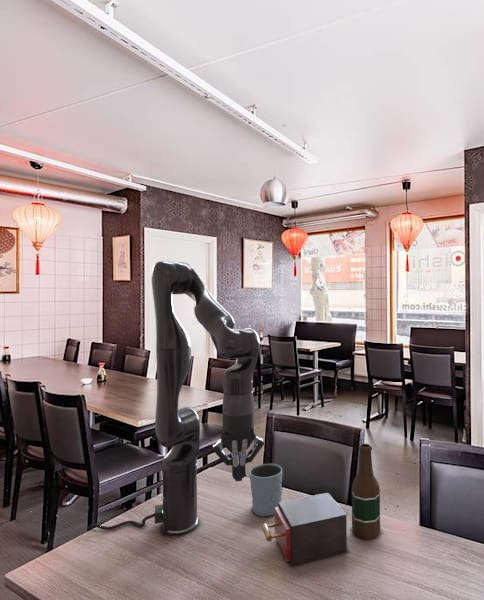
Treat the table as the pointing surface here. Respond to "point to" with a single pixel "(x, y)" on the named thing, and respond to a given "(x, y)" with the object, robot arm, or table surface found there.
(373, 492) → the beer bottle
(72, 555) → the table surface
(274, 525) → the drawer
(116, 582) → the table surface
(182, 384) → the robot arm
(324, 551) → the cabinet
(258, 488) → the drinking glass
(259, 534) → the table surface
